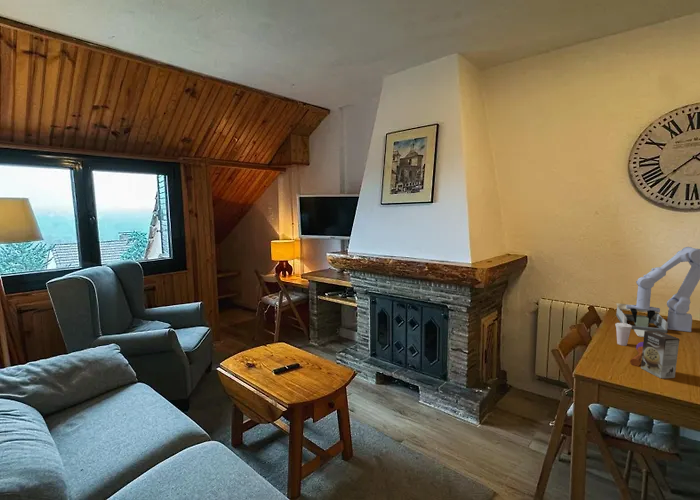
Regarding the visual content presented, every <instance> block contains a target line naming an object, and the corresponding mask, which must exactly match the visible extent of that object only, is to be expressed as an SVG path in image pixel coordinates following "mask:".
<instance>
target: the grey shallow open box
mask: <svg viewBox="0 0 700 500" xmlns="http://www.w3.org/2000/svg"><path fill="white" fill-rule="evenodd" d="M615 316H616V317H617V319H618V320H619V323H623V316H625V319H624V323H626V324H628V321H629V322H634V318H633V315H632V313H631V314H629V313H624V311H623V310H620V309H619V307H618V306H616V313H615ZM649 324H654V325H655V326H656V327H650V326H648V327H643V326H636V325H635V324H634V325H633V324H630V325H631V326H632V329H631V330H634V329H637V330H645V331H660V332H663V333H666V334H668V329H667V326H668V323H667V320H666V319H664V317H662V316H661V315H660V313H659V314H657V313H655V315H654V316H653V317H652V319H651V320H650V323H649Z"/></svg>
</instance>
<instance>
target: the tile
mask: <svg viewBox="0 0 700 500" xmlns="http://www.w3.org/2000/svg"><path fill="white" fill-rule="evenodd" d="M633 331H634V333H635V334H636V335H637V336H638V337H641V338H644V331H645V330H637V329H633Z"/></svg>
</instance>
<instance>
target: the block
mask: <svg viewBox="0 0 700 500" xmlns="http://www.w3.org/2000/svg"><path fill="white" fill-rule="evenodd" d="M648 322H649V318H648V317H647V315H640V314H639V315H638V314H637V317H636V323H634V325H635V326H643V327H649V324H648Z"/></svg>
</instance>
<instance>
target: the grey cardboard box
mask: <svg viewBox="0 0 700 500" xmlns="http://www.w3.org/2000/svg"><path fill="white" fill-rule="evenodd" d="M642 342H643V352H642V359H641V362H640V369H642V370H643V371H645V372H647V373H650V374H651V375H653V376H655V377H657V378H659V379H661V378H662V379H674V378H676V369H677V361H678V353H679V347H680V345H679V344H680V338H678V337H676V336H673V335H670V334H668V333H663V332H660V331H644V337H643V341H642Z"/></svg>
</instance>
